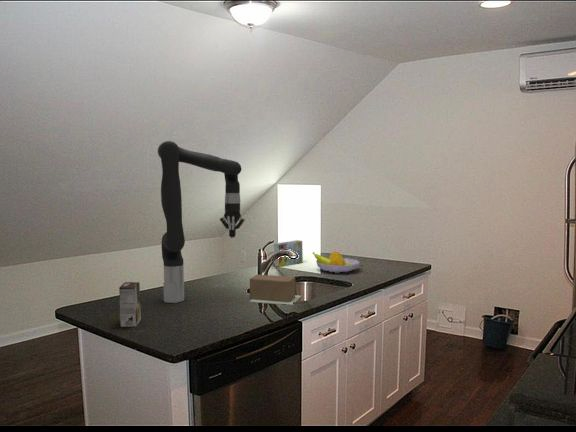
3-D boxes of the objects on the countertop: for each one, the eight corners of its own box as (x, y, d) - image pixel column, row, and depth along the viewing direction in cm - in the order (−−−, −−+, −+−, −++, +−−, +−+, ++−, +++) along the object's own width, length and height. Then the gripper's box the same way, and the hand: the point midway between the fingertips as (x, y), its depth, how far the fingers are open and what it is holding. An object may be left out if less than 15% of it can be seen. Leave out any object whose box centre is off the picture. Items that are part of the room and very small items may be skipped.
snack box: (297, 261, 332) (297, 239, 331) (302, 263, 328) (302, 240, 326) (273, 266, 318) (273, 243, 316) (279, 267, 314) (279, 244, 312)
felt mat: (292, 305, 225) (292, 304, 225) (249, 302, 231) (249, 301, 231) (300, 296, 241) (300, 295, 241) (260, 293, 246) (260, 292, 246)
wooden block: (249, 299, 235) (289, 302, 229) (249, 278, 234) (289, 281, 228) (257, 294, 244) (295, 297, 238) (256, 274, 243) (295, 276, 237)
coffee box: (125, 320, 204) (124, 282, 202) (141, 319, 204) (140, 281, 203) (119, 327, 195) (118, 287, 193) (136, 326, 195) (135, 286, 194)
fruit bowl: (365, 269, 306) (365, 251, 305) (346, 277, 284) (346, 258, 283) (326, 264, 321) (326, 247, 320) (305, 272, 299) (305, 253, 298)
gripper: (216, 202, 238) (216, 237, 239) (242, 203, 234) (242, 239, 236) (223, 201, 245) (223, 235, 247) (247, 202, 241) (247, 237, 243)
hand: (232, 237), depth 241 cm, fingers closed
